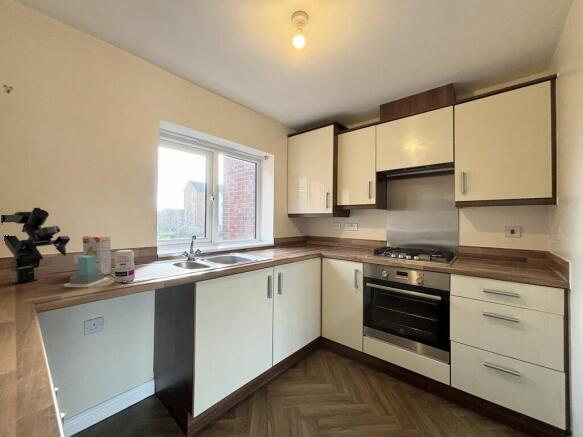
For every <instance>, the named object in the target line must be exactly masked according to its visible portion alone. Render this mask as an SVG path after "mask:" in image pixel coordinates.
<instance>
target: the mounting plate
mask: <svg viewBox="0 0 583 437" xmlns="http://www.w3.org/2000/svg"><path fill="white" fill-rule="evenodd" d="M109 280H110V277H105V275H104V273H96V275H93V276H90V277H79V274H76V275H73V276H70V277H69V282H67V283H64V284H63V287H64V288H87V287H89V288H90V287H94V286H96V285H99V284H103V283H105V282H107V281H109Z"/></svg>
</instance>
